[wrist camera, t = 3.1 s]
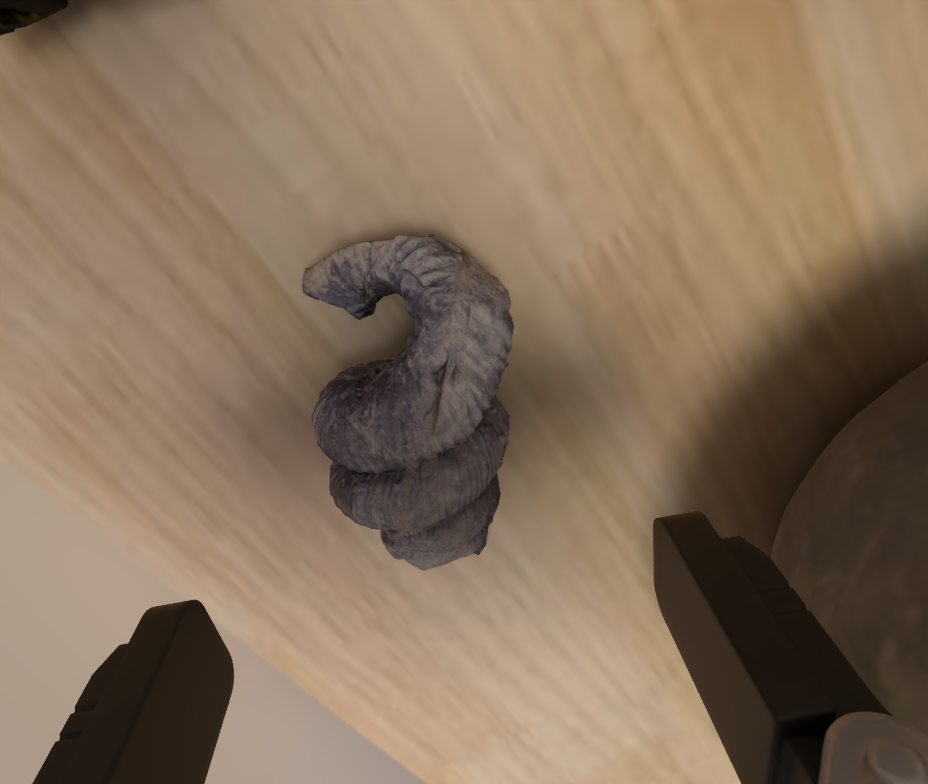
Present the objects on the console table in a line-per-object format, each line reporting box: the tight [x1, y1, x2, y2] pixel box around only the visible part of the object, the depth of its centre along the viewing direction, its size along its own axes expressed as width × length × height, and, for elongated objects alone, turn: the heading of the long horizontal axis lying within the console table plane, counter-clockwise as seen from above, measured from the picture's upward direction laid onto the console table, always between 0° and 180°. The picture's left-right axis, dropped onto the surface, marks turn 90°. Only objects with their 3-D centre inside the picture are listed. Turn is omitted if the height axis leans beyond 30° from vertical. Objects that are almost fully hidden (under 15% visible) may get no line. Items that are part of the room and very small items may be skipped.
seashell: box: [302, 234, 514, 570], centre depth 15 cm, size 5×5×10 cm
